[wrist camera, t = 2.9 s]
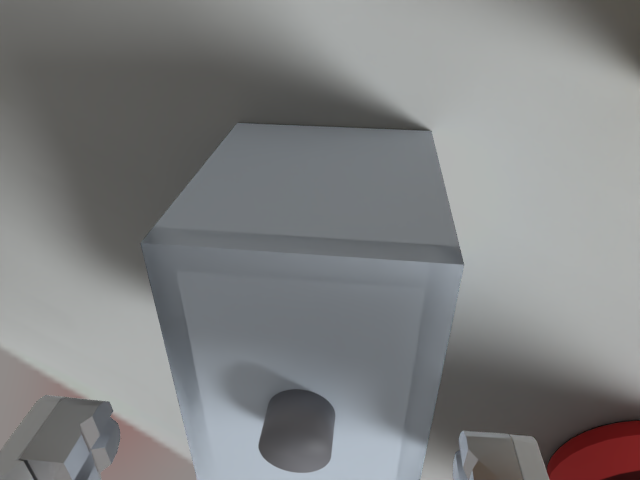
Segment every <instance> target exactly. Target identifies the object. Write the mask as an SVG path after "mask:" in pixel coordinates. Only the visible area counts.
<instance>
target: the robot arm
mask: <svg viewBox="0 0 640 480" xmlns="http://www.w3.org/2000/svg"><path fill="white" fill-rule="evenodd" d="M112 412H113V409H112V407H111V404H110V402H108V401H98V400H88V399H78V398H69V397H60V396H48V395H45V396H43V397H42V398H40V399H39V400H38V401H37V402H36V403H35V404H34V406H33V407H32V408H31V410H30V411H29V412H28V414H27V415H26V416H25V418H24V419H23V421H22V422H21V423H20V425H19V426H18V427H17V429H16V430H15V431H14V433H13V434H12V435H11V437H10V438H9V439H8V441H7V442H6V443H5V445H4V446H3V448H2V449H1V450H0V480H101V474H100V472H102V471H103V470H104V469H105V468H107V467H108V466H109V465H111V464H112V462H113V459H114V457H115V455H116V453H117V450H118V446H119V442H120V429H119V426H118V423H117V422H116V421H114V420H113V419H112V418H111V417H110V416H111V414H112ZM459 447H460V450H459V451H457V452H456V453H455V457H454V462H453V480H549V477H548V474H547V471H546V468H545V465H544V461H543V458H542V455H541V452H540V449H539V446H538V443H537V441H536V440H535V438H534V437H532V436H523V435H508V434H506V433H491V432H476V431H462V432H461V433H460V437H459Z"/></svg>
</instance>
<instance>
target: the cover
mask: <svg viewBox="0 0 640 480" xmlns="http://www.w3.org/2000/svg"><path fill="white" fill-rule="evenodd" d="M141 248H142V252H143V256H144V260H145V264H146V268H147V273H148V277H149V281H150V285H151V289H152V294H153V298H154V302H155V306H156V310H157V314H158V319H159V323H160V327H161V331H162V335H163V339H164V344H165V348H166V352H167V356H168V360H169V364H170V369H171V373H172V377H173V381H174V385H175V390H176V394H177V398H178V402H179V406H180V410H181V415H182V419H183V423H184V427H185V431H186V435H187V440H188V444H189V448H190V452H191V456H192V461H193V465H194V469H195V473H196V477H197V480H420V478H421V474H422V469H423V464H424V459H425V454H426V449H427V444H428V439H429V434H430V429H431V425H432V420H433V415H434V410H435V405H436V400H437V395H438V390H439V385H440V381H441V376H442V371H443V366H444V361H445V356H446V351H447V346H448V341H449V336H450V332H451V327H452V322H453V317H454V312H455V307H456V302H457V297H458V292H459V288H460V283H461V278H462V273H463V268H464V262H463V258H462V254H461V250H460V246H459V242H458V238H457V234H456V230H455V225H454V221H453V217H452V213H451V209H450V205H449V201H448V197H447V193H446V189H445V185H444V180H443V176H442V172H441V168H440V164H439V160H438V156H437V152H436V148H435V144H434V140H433V136H432V131H420V130H396V129H371V128H347V127H323V126H299V125H275V124H250V123H237V124H236V125H235V126H234V127H233V129H232V130H231V131H230V132H229V134H228V135H227V136H226V137H225V139H224V140H223V141H222V142H221V144H220V145H219V146H218V147H217V149H216V150H215V151H214V152H213V154H212V155H211V156H210V157H209V158H208V160H207V161H206V162H205V163H204V165H203V166H202V167H201V168H200V170H199V171H198V172H197V173H196V175H195V176H194V177H193V178H192V180H191V181H190V182H189V183H188V185H187V186H186V187H185V188H184V190H183V191H182V192H181V193H180V194H179V196H178V197H177V198H176V199H175V201H174V202H173V203H172V204H171V206H170V207H169V208H168V209H167V211H166V212H165V213H164V214H163V216H162V217H161V218H160V219H159V221H158V222H157V223H156V224H155V225H154V227H153V228H152V229H151V230H150V232H149V233H148V234H147V235H146V237H145V238H144V239H143V240H142V242H141Z"/></svg>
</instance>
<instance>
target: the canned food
mask: <svg viewBox="0 0 640 480" xmlns="http://www.w3.org/2000/svg"><path fill="white" fill-rule="evenodd" d="M547 474H548V477H549V480H640V421H628V422H618V423H613V424H609V425H604V426H600V427H597V428H594V429H592V430H589V431H586V432H584V433H582V434H580V435H578V436H576V437H574V438H572V439H570V440H569V441H568V442H566V443H565V444H564V445H562V446H561V447H560V448H559V449H558V450H557V451H556V452H555V453H554V455H553V456H552V457H551V459H550V461H549V463H548V465H547Z"/></svg>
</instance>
